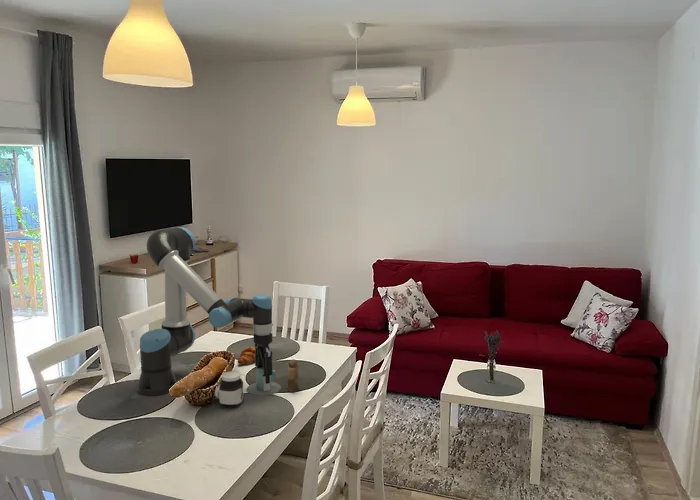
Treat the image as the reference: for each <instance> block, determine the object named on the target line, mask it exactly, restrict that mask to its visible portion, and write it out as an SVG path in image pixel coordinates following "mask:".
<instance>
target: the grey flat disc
mask: <svg viewBox="0 0 700 500" xmlns="http://www.w3.org/2000/svg"><path fill="white" fill-rule="evenodd" d="M245 389H246V392H247V393H248V394H250V395H253V396H261V397H263V396H270V395H274V394H275V395H276V394H277V393H278V392H280V391H281V390H282V385H280V384H279V383H277V382H275V381H273V382H271V389H270V390H268V391H258V390H257V389H256V382H254V383H252V384H249V385H247V387H246V388H245Z"/></svg>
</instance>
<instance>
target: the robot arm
mask: <svg viewBox="0 0 700 500" xmlns="http://www.w3.org/2000/svg"><path fill="white" fill-rule="evenodd" d="M195 247H196V238H195V236H194V235H193V232H192V231H190V230H189V229H187V228H186V227H182V226H181V227H180V226H179V227H175V226H174V227H171V228H164V229H158V230H155V231H154V232H152V233H151V234H150V235H149V236H148V238H147V240H146V251H147V254H148V256H149V258H150V259H151V261H152V262H153V263H154V264H155V265H156V266H157V267H158V268H159V269H163V270H164V305H165V306H164V308H165V309H164V311H165V313H164V316H165V318H164V320H163V321H161V328H157V329H156V328H155V329H154V330H148V331H146V332H144V333H143V334H142V335H141V336H140V339H139V351H140V354H139V355H140V366H141V368H140V371H141V373H140V375H139V380H138V382H137V393H139V394H140V395H142V396H153V397H154V396H160V395H166V394H169V393H170V392H169V389H170V388H171V387H172V386H173V385H174V384H175V383H176V382H177V383H178V381H177V378H176V376H175V373H174V371H173V368H172V358H174V357H176V356H177V355H179V354H181V353H184V352H187V350H188V349H190V348H191V347H192V346H193V345H194V343H195V340H196V332H195V329H194V328H193V326H192V325H191V320H189V319H188V318H187V294H189V296H191V297H192V299H193V300H195V302H196V303H197V304H198V305H199V306H200V307H201V308H202V309H203V310H204V311H205V312H206V313H207V314H208V320H209V323H210V325H211V326H212V327H214V328H217V329H221V328H224V327H226V326H228V325H229V324H232V323H233V322H235V321H238V320H239V319H241V318H247V319H252V320H253V323H252V326H253V327H252V331H253V343H254V346H255V363H254V364H255V366H254V367H256V369H257V368H260V367H263V369H264V375H262V376H263V391H268V390H270V375H272V374H273V373H272V370H273V352H272V351H271V350H270V346H269V345H270V344H271V343H273V333H272V332H273V326H274V324H273V305H272V304H273V303H272V297H271V296H270V295H269V294H267V293H264V294H263V293H260V294H259V293H258V294H255V295H253V296H252V299H250V298H240V297H229V298H227V299H226V301H224V300H223V299H222V298H221V297H220V296H219V295H218V293H216V292H215V290H214V289H212V287H210V285H209V284H207V283H206V281H205V280H203V279H202V277H201V276H200V275H199V274H198V273H197V272H195V270H194V269H193V268H192V267H191V266H190V265H189V264H188V262H190V260H191V253H192V251H193V250H194V249H195Z"/></svg>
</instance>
